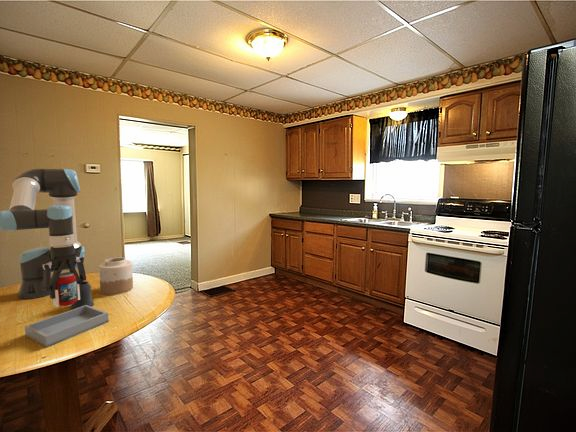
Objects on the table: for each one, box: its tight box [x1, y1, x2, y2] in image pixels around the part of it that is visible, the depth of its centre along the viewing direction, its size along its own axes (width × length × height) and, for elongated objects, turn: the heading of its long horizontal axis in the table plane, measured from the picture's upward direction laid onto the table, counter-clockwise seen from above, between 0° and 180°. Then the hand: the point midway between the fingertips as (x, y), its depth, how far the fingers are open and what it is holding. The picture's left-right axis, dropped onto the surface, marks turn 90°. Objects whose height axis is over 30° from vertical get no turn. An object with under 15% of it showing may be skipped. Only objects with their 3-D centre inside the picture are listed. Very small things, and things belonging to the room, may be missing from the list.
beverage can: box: [56, 271, 77, 307], centre depth 117 cm, size 7×7×12 cm
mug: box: [70, 280, 95, 310], centre depth 140 cm, size 12×9×11 cm
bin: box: [24, 305, 110, 348], centre depth 119 cm, size 16×22×4 cm
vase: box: [98, 256, 134, 296], centre depth 160 cm, size 15×15×17 cm
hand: (67, 302), depth 118 cm, fingers closed on beverage can, 7 cm apart
